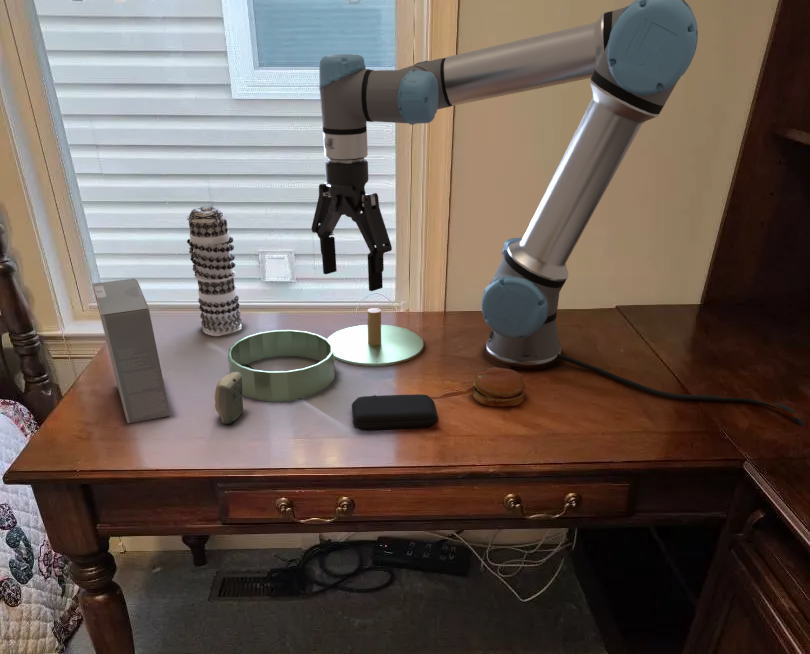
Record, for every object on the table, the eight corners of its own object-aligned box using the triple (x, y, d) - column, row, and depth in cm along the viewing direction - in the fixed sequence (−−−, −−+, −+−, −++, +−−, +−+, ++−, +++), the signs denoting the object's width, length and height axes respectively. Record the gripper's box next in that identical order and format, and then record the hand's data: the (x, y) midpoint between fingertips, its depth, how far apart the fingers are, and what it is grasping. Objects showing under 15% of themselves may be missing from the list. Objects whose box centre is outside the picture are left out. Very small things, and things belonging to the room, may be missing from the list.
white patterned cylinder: (239, 337, 161) (224, 215, 147) (196, 336, 161) (177, 214, 147) (247, 321, 169) (233, 203, 154) (206, 320, 169) (188, 203, 154)
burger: (532, 405, 137) (535, 381, 134) (485, 412, 135) (487, 388, 132) (509, 382, 145) (511, 359, 142) (464, 389, 142) (465, 366, 140)
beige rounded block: (249, 425, 130) (244, 383, 125) (218, 429, 129) (212, 386, 124) (245, 410, 135) (240, 368, 130) (215, 413, 133) (209, 372, 129)
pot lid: (443, 351, 157) (445, 312, 152) (366, 378, 146) (365, 338, 141) (381, 322, 169) (381, 286, 164) (306, 345, 158) (303, 307, 153)
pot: (355, 381, 145) (354, 353, 141) (267, 412, 134) (264, 382, 131) (297, 349, 157) (295, 322, 153) (213, 375, 146) (209, 347, 143)
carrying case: (432, 403, 137) (351, 405, 136) (432, 387, 136) (350, 390, 135) (439, 431, 129) (353, 435, 128) (440, 416, 127) (352, 419, 126)
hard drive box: (116, 387, 141) (91, 282, 130) (158, 380, 144) (137, 276, 132) (126, 424, 130) (100, 313, 118) (171, 416, 132) (150, 306, 121)
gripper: (286, 152, 136) (297, 270, 148) (377, 172, 121) (380, 301, 133) (319, 147, 140) (327, 262, 153) (411, 165, 125) (411, 291, 138)
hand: (352, 280), depth 143 cm, fingers open, 13 cm apart
